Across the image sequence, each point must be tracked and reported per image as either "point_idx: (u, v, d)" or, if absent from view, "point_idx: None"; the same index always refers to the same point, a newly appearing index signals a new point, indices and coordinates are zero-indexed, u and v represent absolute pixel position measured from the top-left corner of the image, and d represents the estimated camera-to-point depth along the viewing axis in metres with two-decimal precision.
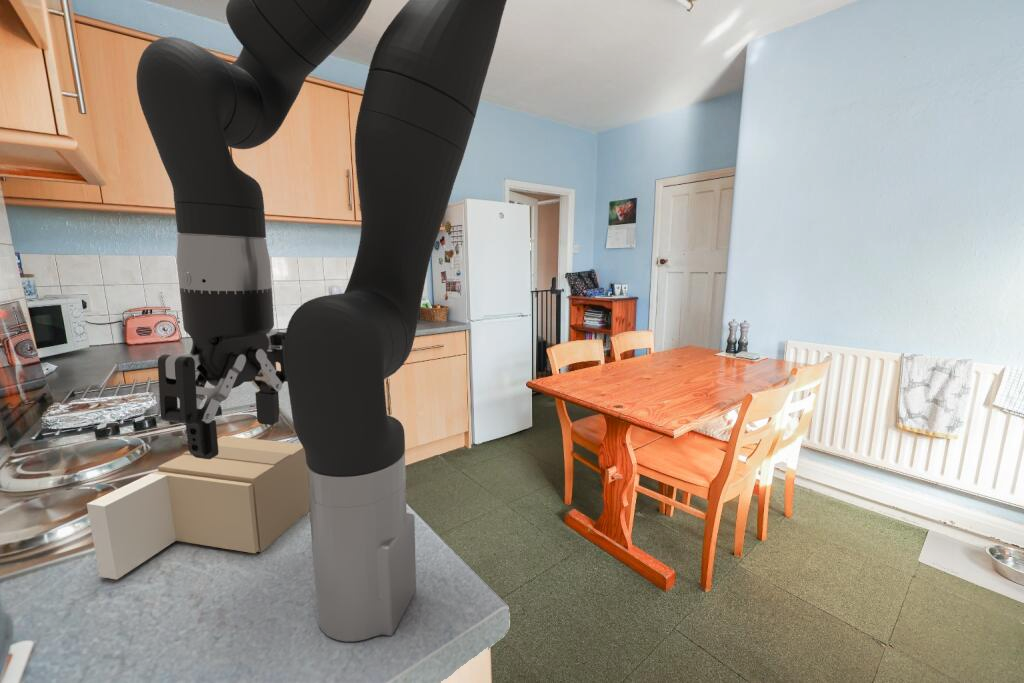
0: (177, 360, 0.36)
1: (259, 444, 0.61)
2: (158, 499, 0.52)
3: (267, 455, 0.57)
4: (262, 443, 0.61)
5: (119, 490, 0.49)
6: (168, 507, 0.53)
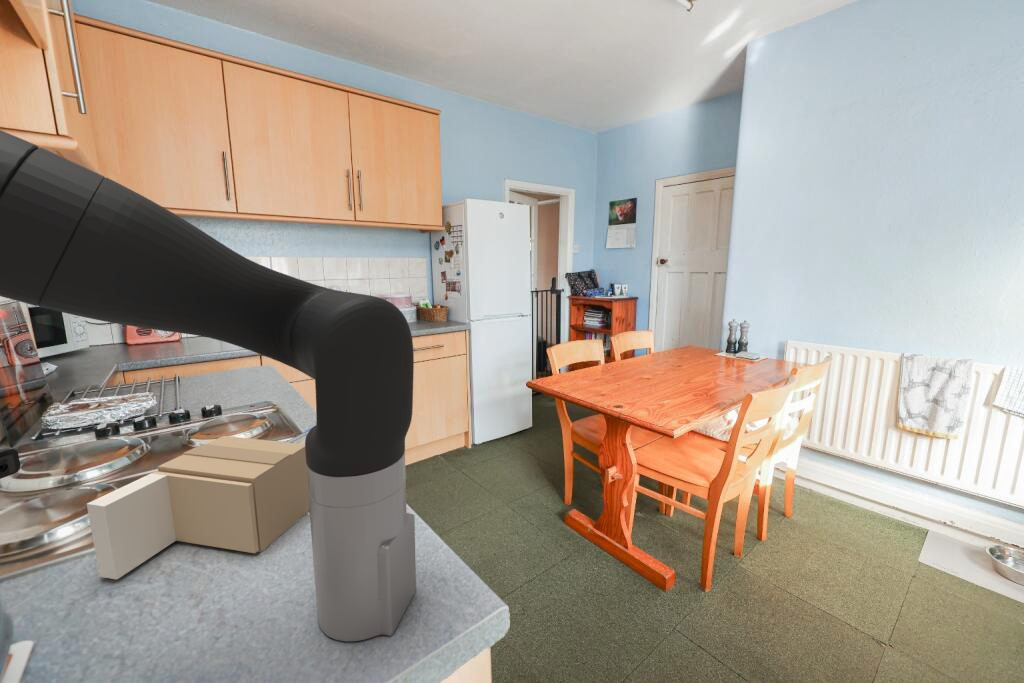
0: None
1: (259, 444, 0.61)
2: (158, 499, 0.52)
3: (267, 455, 0.57)
4: (262, 443, 0.61)
5: (119, 490, 0.49)
6: (168, 507, 0.53)
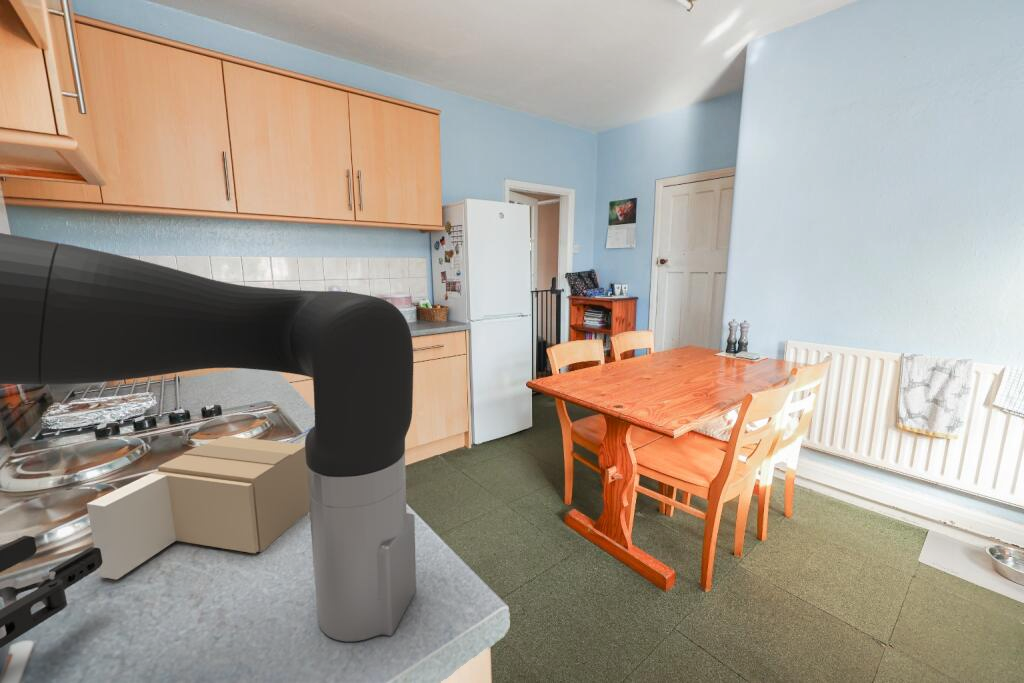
0: None
1: (259, 444, 0.61)
2: (158, 499, 0.52)
3: (267, 455, 0.57)
4: (262, 443, 0.61)
5: (119, 490, 0.49)
6: (168, 507, 0.53)
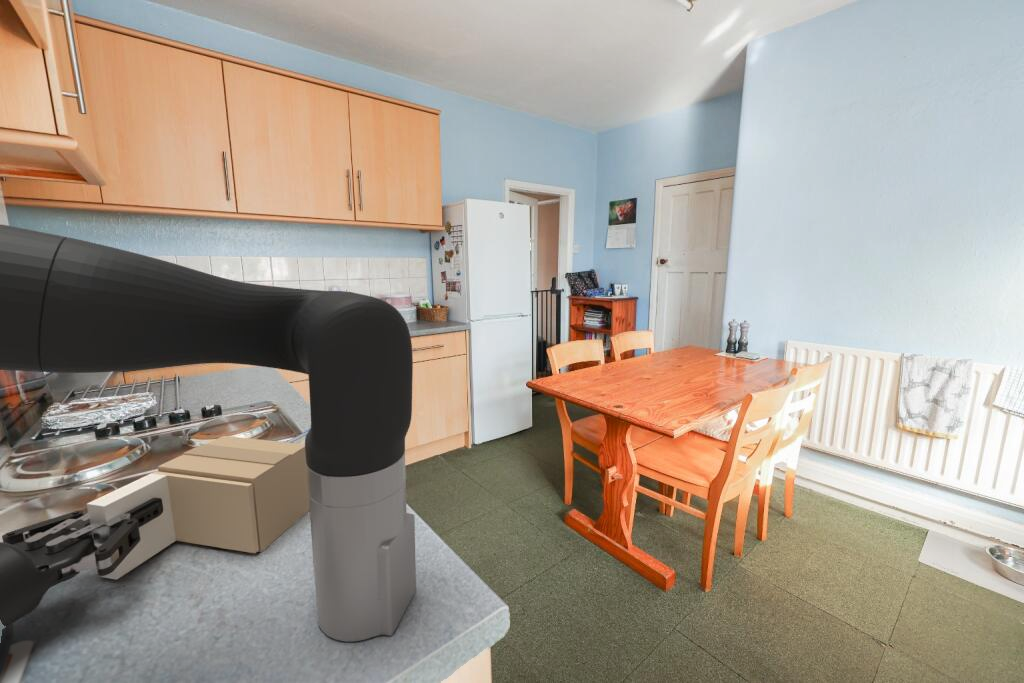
0: (106, 557, 0.42)
1: (259, 444, 0.61)
2: None
3: (267, 455, 0.57)
4: (262, 443, 0.61)
5: (119, 490, 0.49)
6: (168, 507, 0.53)
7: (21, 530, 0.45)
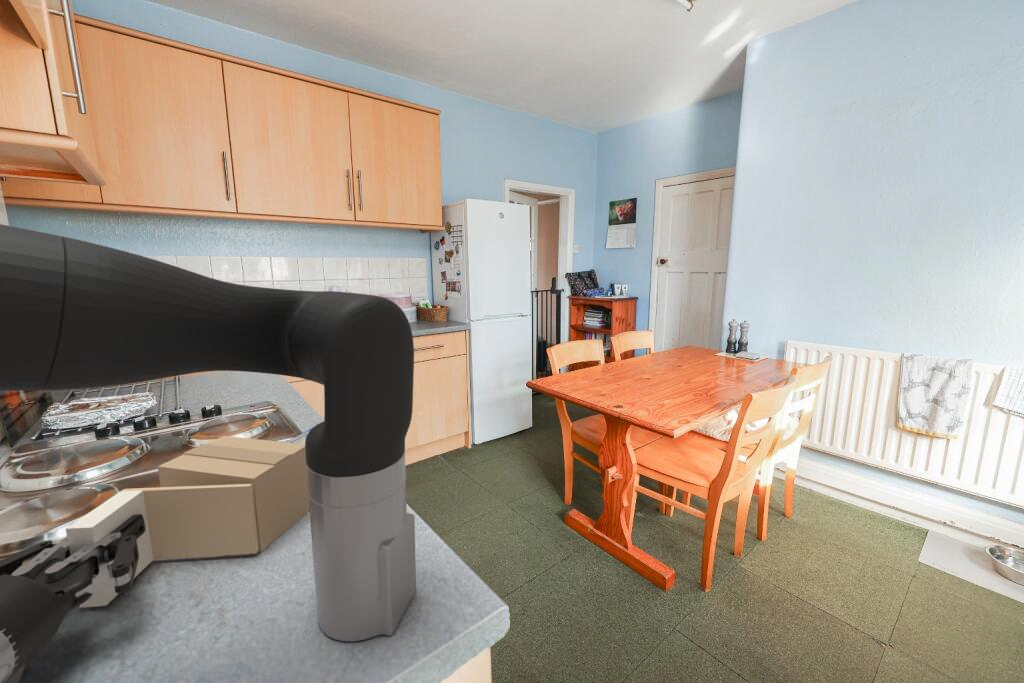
0: (125, 572, 0.40)
1: (259, 444, 0.61)
2: None
3: (267, 455, 0.57)
4: (262, 443, 0.61)
5: (95, 511, 0.45)
6: (145, 524, 0.50)
7: None
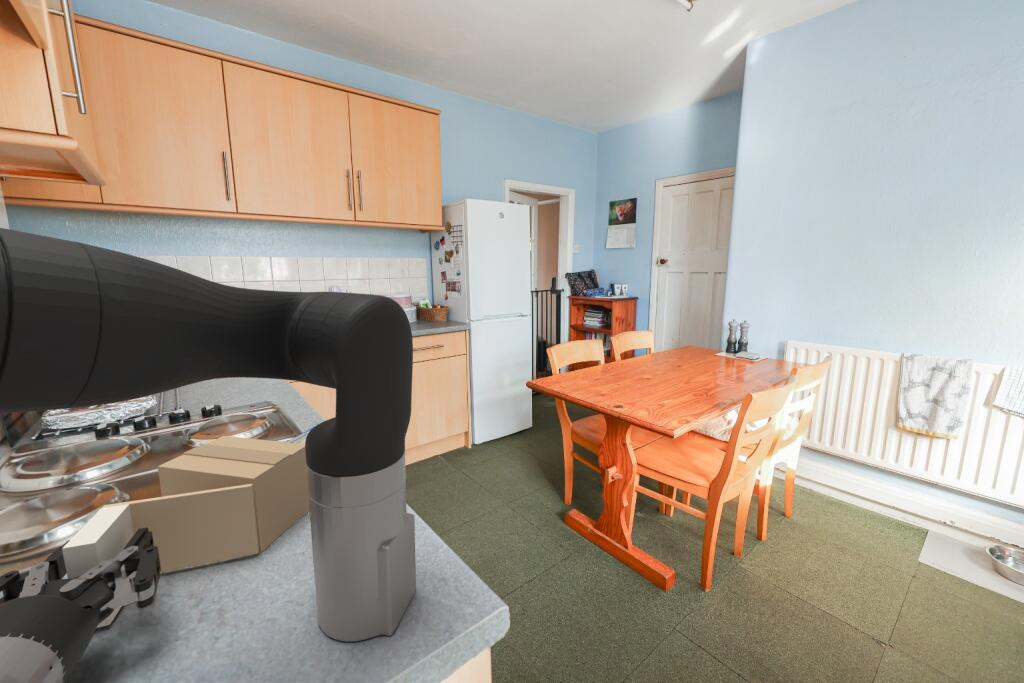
0: (147, 587, 0.38)
1: (259, 444, 0.61)
2: (126, 531, 0.46)
3: (267, 455, 0.57)
4: (262, 443, 0.61)
5: (86, 528, 0.42)
6: None
7: None
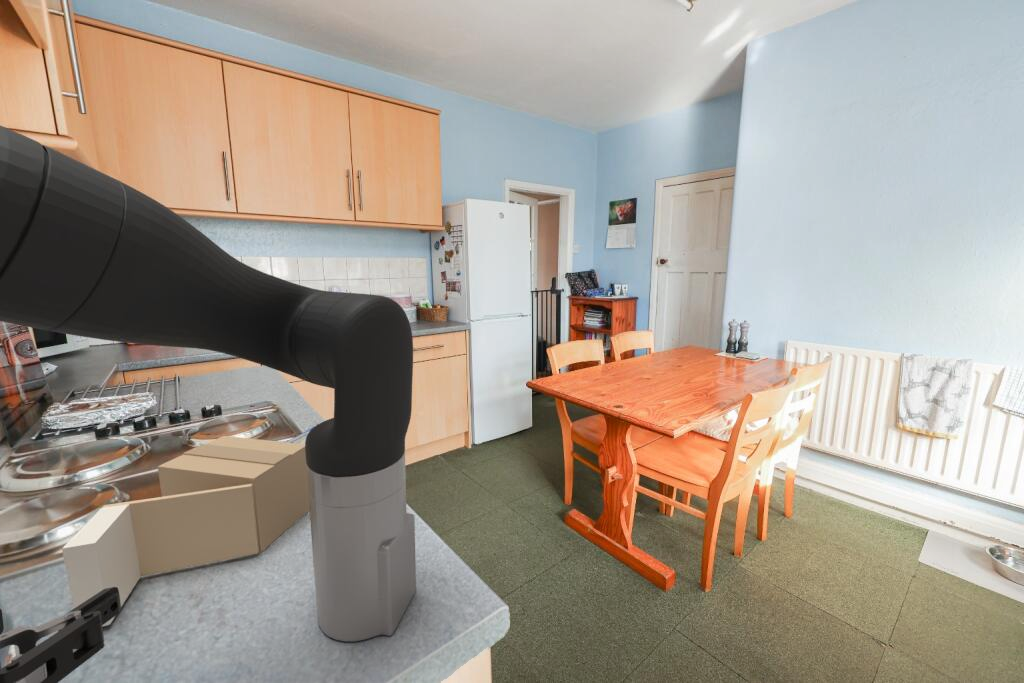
0: (14, 681, 0.25)
1: (259, 444, 0.61)
2: (126, 531, 0.46)
3: (267, 455, 0.57)
4: (262, 443, 0.61)
5: (86, 528, 0.42)
6: (133, 539, 0.47)
7: None
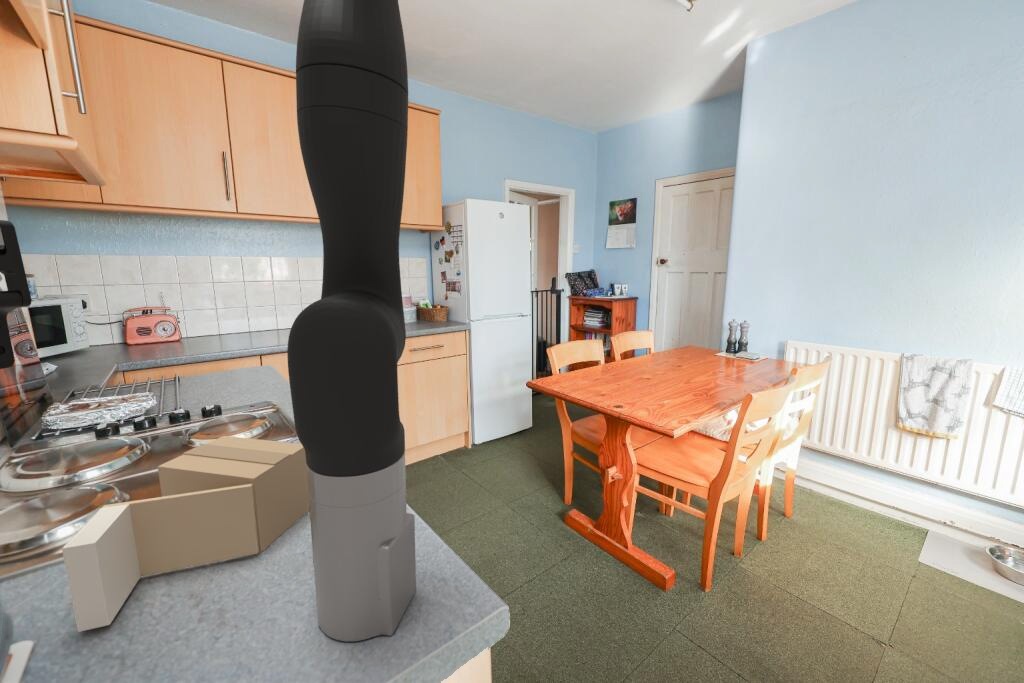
0: None
1: (259, 444, 0.61)
2: (126, 531, 0.46)
3: (267, 455, 0.57)
4: (262, 443, 0.61)
5: (86, 528, 0.42)
6: (133, 539, 0.47)
7: None
